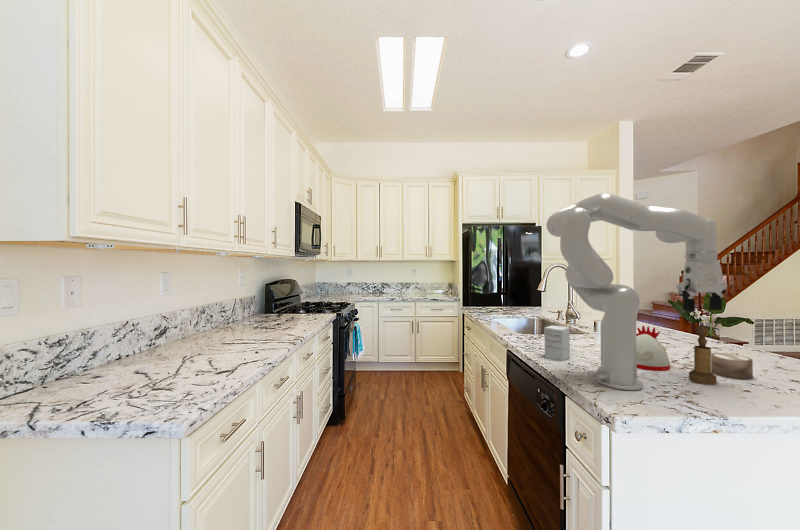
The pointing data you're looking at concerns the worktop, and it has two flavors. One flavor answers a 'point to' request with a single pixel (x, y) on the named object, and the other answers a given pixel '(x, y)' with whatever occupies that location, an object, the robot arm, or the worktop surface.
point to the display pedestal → (732, 366)
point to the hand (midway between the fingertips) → (702, 310)
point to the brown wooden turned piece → (702, 360)
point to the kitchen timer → (650, 351)
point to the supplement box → (557, 342)
